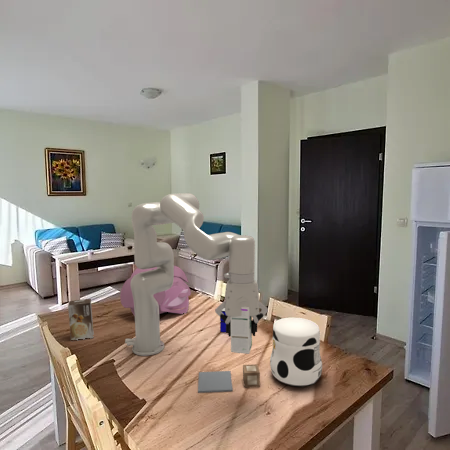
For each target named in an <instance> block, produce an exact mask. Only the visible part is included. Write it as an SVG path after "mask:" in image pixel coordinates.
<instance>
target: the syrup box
mask: <svg viewBox="0 0 450 450" xmlns="http://www.w3.org/2000/svg"><path fill="white" fill-rule="evenodd" d="M241 308H242V309H241V310H242V314H241V316H238V317H231V336H230V352H231V353H236V354H245V355H247V354H248V355H249V354H251V350H252V346H253V335H252V320H253V318H252V316H249V307H245V306H242V307H241Z"/></svg>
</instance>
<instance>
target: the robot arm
mask: <svg viewBox="0 0 450 450" xmlns="http://www.w3.org/2000/svg"><path fill="white" fill-rule="evenodd" d="M131 212H132V213H131V217H130V220H131V226H132V229H133V234H134V235H133V236H134V237H133V238H134V241H133V243H134V244H133V247H134V249H133V250H134V252H133V253H134V255H133V257H134V263H135V266H136V269H137V268H139V269H150V268H154V267H157V269H154V270H149V271H145V272H141V273H138V274H136V275H135V276H134V277H133V278H132V279H131V290H132V294H133V299H134V311H135V316H134V323H135V324H134V325H135V326H134V327H135V329H134V331H135V337H133V338H125V341H124V343H125V344H126V346H127V347H129V346H130V347H131V346H132V353H133V354H135V355H137V356H143V357H144V356H147V357H149V356H154V355H156V354H159V353H160V352H162V351H163V350H164V348H165V343H164V342H163V341H162V340H161V330H160V329H161V327H160V326H161V325H160V314H159V305H158V302H157V301H156V299H155V298H154V297H153V295H154V294H156V293H159V292H162V291H166V290H168V289H170V288H171V287H172V285H173V279H174V266H175V256H174V255H175V254H174V251H173V248H172V246H171V245H170V244H169V243H168V242H164V241H163V242H158V234H157V232H156V229H155V227H154V226H158V225H167V224H168V225H169V224H175V225H177V226H178V227H179V228H180V229H181V230H183V237H184V240H185V243H186V245H187V247H188V248H189V249H190V250H191V251H192V252H193V253H195V254H196V255H197V256H198V257H200V258H201V259H203V260H206V261H213V260H217V259H221V258H226V257H228V271H227V273H223V275H224V276H223V278H224V279H227V281H226V286H225V293H224V301H222V303H220V304H219V305H218V306H216V308H215V309H214V310H215V311H214V312H215V314H217V316H218V317H219V319H220V318H221V319H222V320H223V321H224V322H225V323H226V334H227V335H228V337H230V338H231V322H230V320H231V317H238V316H241V314H242V310H241V309H242V308H241V307H242V306H245V307H249V316H252V337H255V336H256V333H258V323H259V322H260V321H261V320H262V319H263V318H264V316H265V315H266V314H268V311H269V309H268V307H267V306H266V305H264V303H262V302H261V301H260V294H259V285H258V282H257V281H256V280H255V265H256V264H255V261H256V259H255V258H256V257H255V254H256V252H255V250H256V244H255V242H256V241H255V239H254V237H252V236H250V235H248V234H247V235H244V234H241V235H240V234H238V233H235V232H231V231H225V232H218V233H217V232H216V233H212V234H207V233H205V231H203V230H202V229H200V228H201V227H202V226H203V224H204V220H205V216H204V214H203V212H202V211H201V210H200V202H199V200H198V198H197V196H195V195H194V194H193V193H189V192H181V193H178V192H177V193H169V194H166V195H164V196H163V197H162V198H161V199H160V201H155V202H154V201H153V202H143V203H140V204H138V205H136V206H134V208H133V210H132V211H131ZM224 308H225V313H226V315H225V314H224V313H222V312H221V310H223V309H224ZM260 310H261V311H260Z"/></svg>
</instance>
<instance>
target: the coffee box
mask: <svg viewBox="0 0 450 450" xmlns="http://www.w3.org/2000/svg"><path fill="white" fill-rule="evenodd" d="M92 308H93V307H92V298H86V299H84V298H83V299H76V300H69V301H68V306H67V309H68V320H69V321H68V322H69V323H68V324H69V332H70V341H71V340H77V341H79V340H78V339H83V340H86V339H85V338H90V339H93V338H94V336H95V333H94V323H93V322H94V321H93V312H92ZM93 335H94V336H93Z"/></svg>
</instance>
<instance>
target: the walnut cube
mask: <svg viewBox="0 0 450 450" xmlns="http://www.w3.org/2000/svg"><path fill="white" fill-rule="evenodd" d="M260 378H261V372H260V368H259V364H258V363H256V364H243V365H242V380H243V386H244V388H260V386H261V383H260V382H261V379H260Z"/></svg>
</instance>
